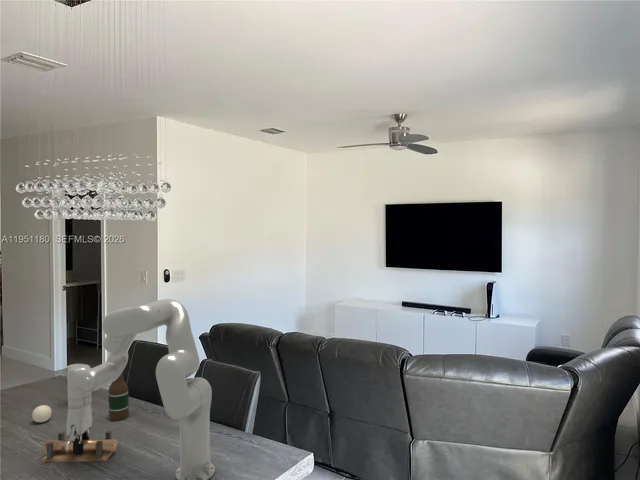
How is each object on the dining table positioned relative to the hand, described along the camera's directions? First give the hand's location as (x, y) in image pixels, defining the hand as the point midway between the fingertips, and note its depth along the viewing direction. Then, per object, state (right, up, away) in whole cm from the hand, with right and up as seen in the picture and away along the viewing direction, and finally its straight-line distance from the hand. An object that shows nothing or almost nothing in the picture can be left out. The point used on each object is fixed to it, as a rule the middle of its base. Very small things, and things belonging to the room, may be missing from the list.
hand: (81, 450), depth 165 cm
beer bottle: (0, -1, +31) cm, 31 cm away
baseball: (-31, -1, +28) cm, 42 cm away
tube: (0, 0, 0) cm, 0 cm away
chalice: (-26, 0, +45) cm, 51 cm away
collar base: (0, -2, 0) cm, 2 cm away
